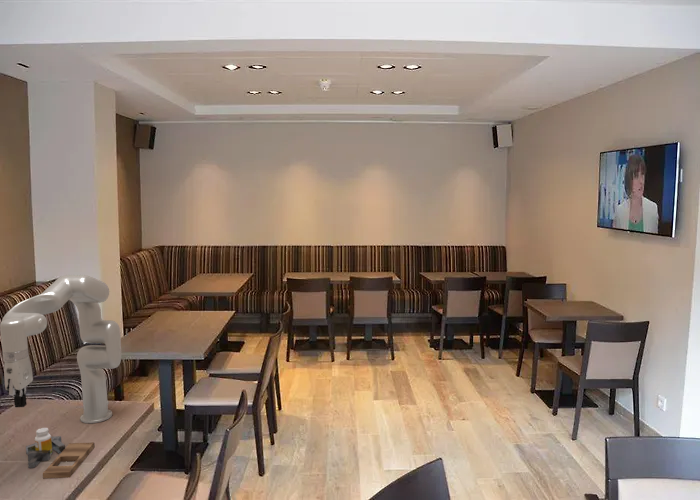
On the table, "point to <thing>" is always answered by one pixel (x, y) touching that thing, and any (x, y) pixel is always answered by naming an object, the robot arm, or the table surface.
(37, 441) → the supplement bottle
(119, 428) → the table surface
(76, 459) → the block with square hole
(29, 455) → the gray tee-shaped block
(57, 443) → the vee block
